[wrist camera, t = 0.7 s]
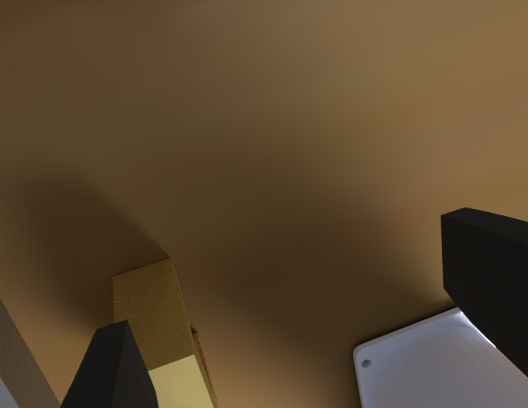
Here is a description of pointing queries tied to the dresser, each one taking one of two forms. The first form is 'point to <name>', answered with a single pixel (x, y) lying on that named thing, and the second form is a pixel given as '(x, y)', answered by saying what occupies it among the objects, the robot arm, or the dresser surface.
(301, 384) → the dresser surface
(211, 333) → the dresser surface
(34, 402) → the rail
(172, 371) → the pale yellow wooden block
